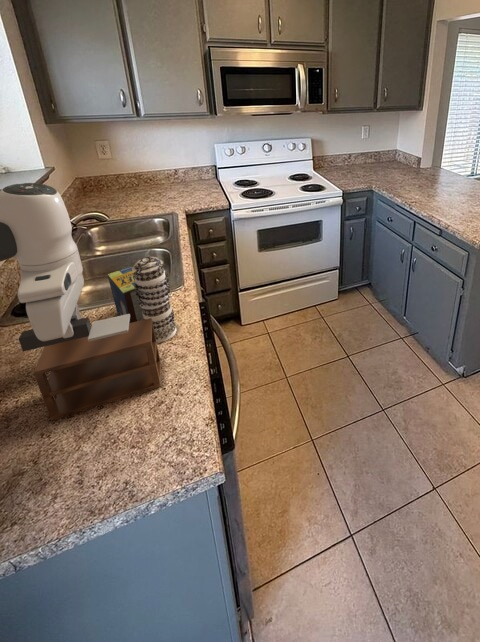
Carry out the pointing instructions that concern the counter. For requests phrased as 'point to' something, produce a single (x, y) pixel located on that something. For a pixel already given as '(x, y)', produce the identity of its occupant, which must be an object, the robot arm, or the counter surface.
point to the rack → (98, 369)
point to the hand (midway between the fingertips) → (71, 329)
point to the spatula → (80, 331)
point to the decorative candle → (155, 296)
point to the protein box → (125, 294)
